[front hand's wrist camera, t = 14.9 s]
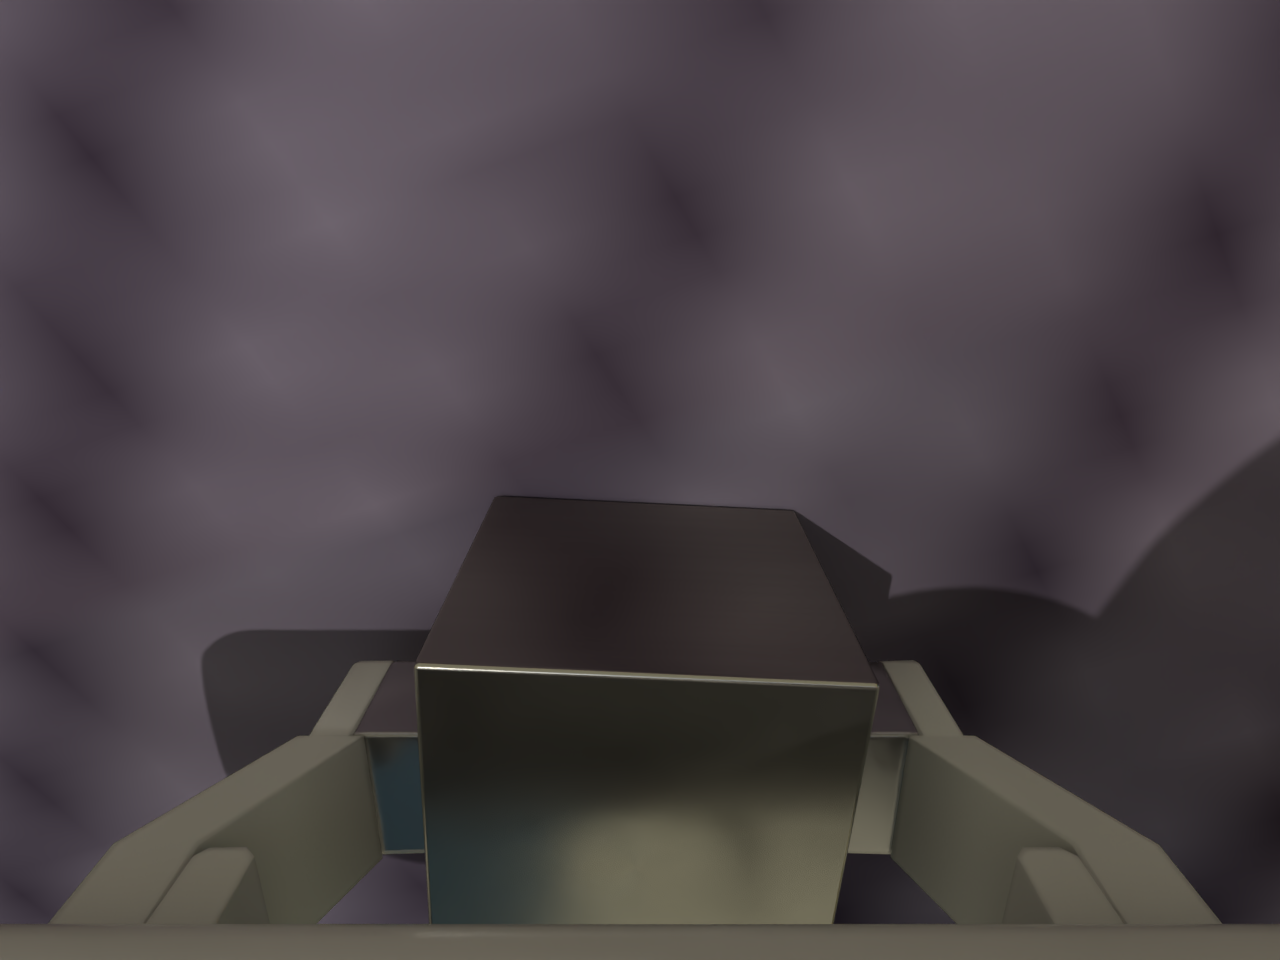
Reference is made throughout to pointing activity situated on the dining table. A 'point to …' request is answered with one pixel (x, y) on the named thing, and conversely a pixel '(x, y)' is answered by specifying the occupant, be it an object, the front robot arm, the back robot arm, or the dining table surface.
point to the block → (639, 720)
